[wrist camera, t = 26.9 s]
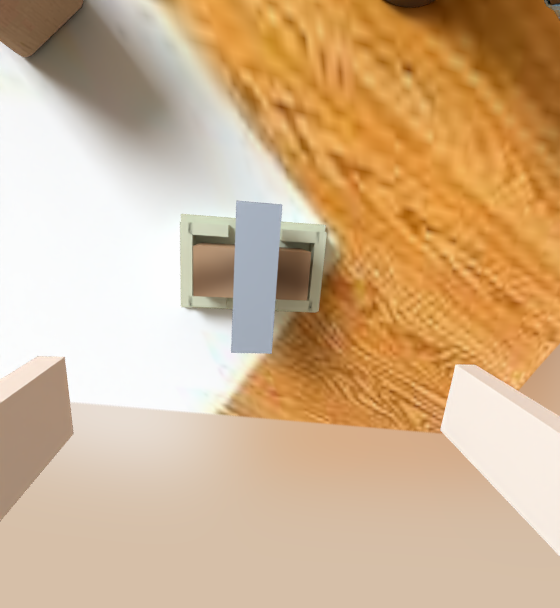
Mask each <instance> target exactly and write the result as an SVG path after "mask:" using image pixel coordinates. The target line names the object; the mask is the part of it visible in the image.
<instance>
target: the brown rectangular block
mask: <svg viewBox="0 0 560 608" xmlns="http://www.w3.org/2000/svg"><path fill="white" fill-rule="evenodd" d="M234 259H235V245H234V244H217V243H199V244H197V245H194V246H193V296H200V297H226V298H233V288H234ZM310 262H311V252H309V251H306V250H304V249H301V248H286V247H279V257H278V271H277V285H276V299H280V300H307V296H308V285H309V274H310Z"/></svg>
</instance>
